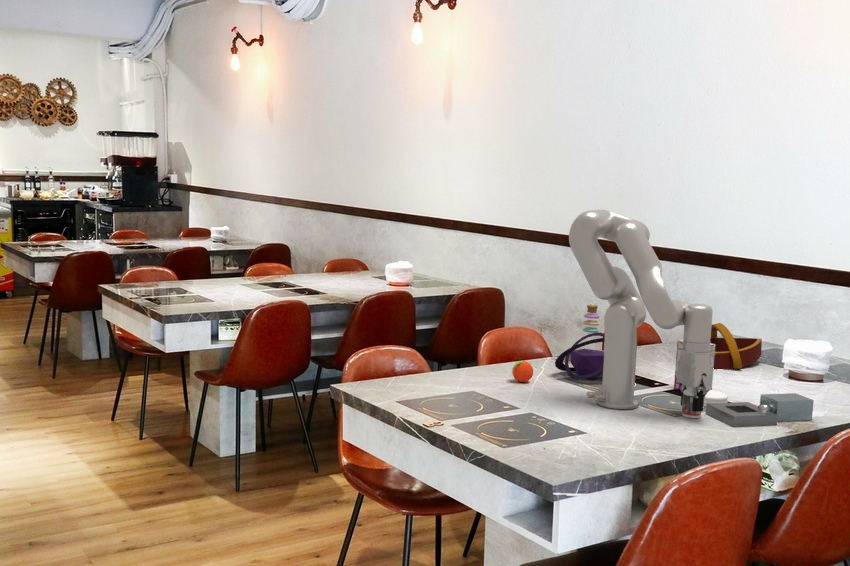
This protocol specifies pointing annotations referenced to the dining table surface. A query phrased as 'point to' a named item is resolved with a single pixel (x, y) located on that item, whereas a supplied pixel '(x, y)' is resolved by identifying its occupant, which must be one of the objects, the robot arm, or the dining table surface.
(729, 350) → the decorative basket
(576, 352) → the decorative bottle
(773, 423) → the grey tray with housing
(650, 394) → the dining table surface
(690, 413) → the pill bottle
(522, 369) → the clementine
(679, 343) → the candy bar box
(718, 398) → the white round disc
